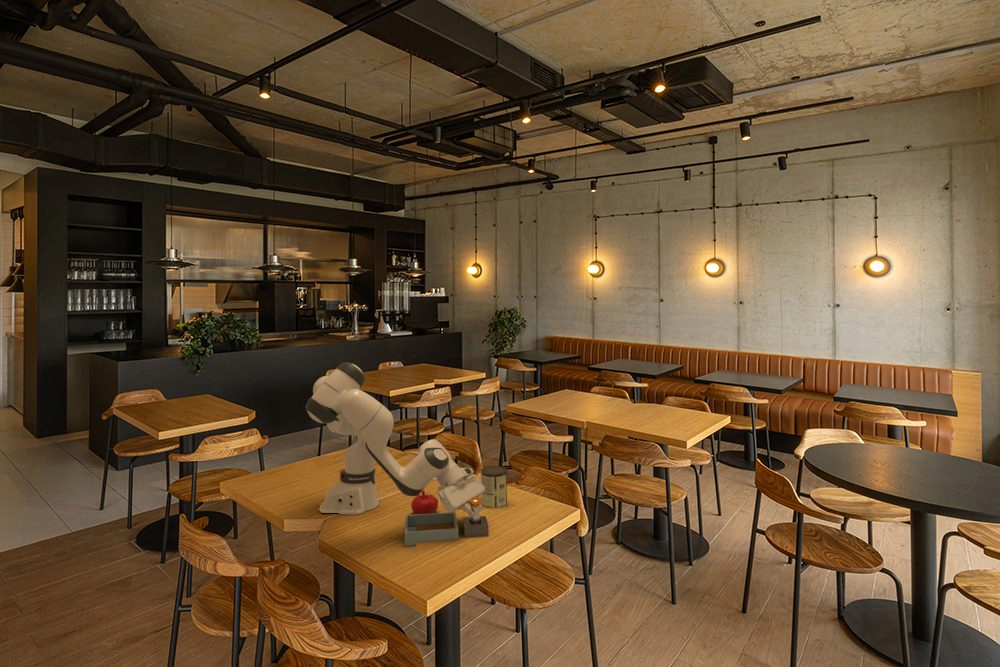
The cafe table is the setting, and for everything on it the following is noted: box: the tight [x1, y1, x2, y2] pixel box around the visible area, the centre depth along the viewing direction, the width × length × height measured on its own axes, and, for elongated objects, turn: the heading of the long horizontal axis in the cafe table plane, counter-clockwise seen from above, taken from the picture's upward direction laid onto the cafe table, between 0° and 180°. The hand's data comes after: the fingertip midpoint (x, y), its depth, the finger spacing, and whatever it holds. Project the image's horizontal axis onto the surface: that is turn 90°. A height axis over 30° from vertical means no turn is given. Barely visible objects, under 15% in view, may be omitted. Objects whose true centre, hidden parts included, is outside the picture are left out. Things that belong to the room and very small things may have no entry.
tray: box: [404, 511, 459, 547], centre depth 183 cm, size 18×15×4 cm
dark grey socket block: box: [462, 515, 489, 538], centre depth 183 cm, size 8×8×4 cm
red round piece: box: [410, 490, 439, 515], centre depth 200 cm, size 10×10×9 cm
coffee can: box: [480, 465, 508, 509], centre depth 209 cm, size 10×10×14 cm
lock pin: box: [468, 496, 482, 524], centre depth 183 cm, size 4×4×11 cm
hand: (476, 512), depth 183 cm, fingers closed on lock pin, 3 cm apart
